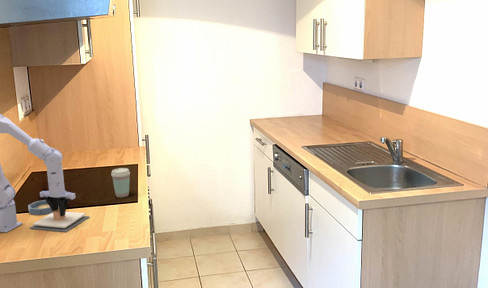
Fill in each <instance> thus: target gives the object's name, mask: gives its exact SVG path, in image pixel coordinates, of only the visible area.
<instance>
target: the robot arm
mask: <svg viewBox="0 0 488 288" xmlns="http://www.w3.org/2000/svg"><path fill="white" fill-rule="evenodd" d="M0 134H9V135H10V136H12V137H13V138H15V139H16V140H18V141H19V142H20V143H23V144H24V145H25V146H26V147H27V151H28V152H29V153H31V154H33V155H34V156H36V157H37V158H38V159H40V160H41V161H43V164H44V165H45V166H46V173H47V174H46V175H47V185H48V190H42V191H40V192H39V197H40V198H46V199H45V200H46V202H47V203H48V204H49V206H50V208H51V210H52V212H53V211H55V210H57V209H58V206H59V210H60V215H61V216H64V215H65V212H67V206H68V203H69V202H70V200H74V199H76V193H75V192H70V191H67V190H66V189H65V188H66V187H65V181H64V179H65V178H64V177H65V176H64V169H63V163H62V161H63V160H64V159H63V158H64V156H63V154H62V152H61V151H60V150H59V149H55V148H54V147H50V146H49V145H48V144H47V143H45V140H44V139H43V138H41V139H40V138H38V137H36V138H33V137H31V136H30V135H29V134H28V133H26V132H25V131H24V130H23V129H21V128H20V127H19V126H17V124H15V123H14V122H13V121H11V120H10V119H9V118H8V117H6V116H4V115H3V114H1V113H0ZM15 196H16V190H15V188H14V187H13V186H12V185H11V182H10V181H9V180H8V179H7V178H6V176H5V174H4V171H3V167H2V164H1V163H0V233H8V232H10V231H11V230H14V229H15V228H17V227H20V226H21V225H23V224H24V223H23V221H22V222H21V221H18V218H17V211H16V202H15V200H14V199H15Z"/></svg>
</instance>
